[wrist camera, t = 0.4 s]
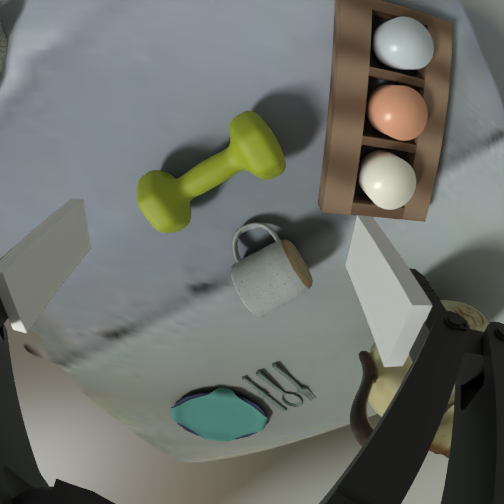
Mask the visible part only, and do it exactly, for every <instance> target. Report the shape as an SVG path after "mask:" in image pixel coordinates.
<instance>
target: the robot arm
mask: <svg viewBox="0 0 504 504" xmlns="http://www.w3.org/2000/svg"><path fill="white" fill-rule="evenodd" d="M90 249H91V245H90V239H89V234H88V228H87V221H86V215H85V208H84V200H83V199H71V200H69V201H68V202H67V203H65V204H64V205H63V206H62V207H60V208H59V209H58V210H57V211H55V212H54V213H53V214H52V215H50V216H49V217H48V218H47V219H46V220H44V221H43V222H42V223H41V224H40V225H38V226H37V227H36V228H35V229H34V230H33V231H31V232H30V233H29V234H28V235H27V236H26V237H25V238H24V239H22V240H21V241H20V242H19V243H18V244H17V245H16V246H15V247H13V248H12V249H11V250H10V251H9V252H8V253H7V254H5V256H3V257H2V258H1V259H0V504H115V503H113V502H111V501H109V500H107V499H105V498H104V497H102V496H100V495H98V494H97V493H95V492H93V491H90V490H87V489H84V488H81V487H78V486H75V485H72V484H69V483H67V482H64V481H61V480H59V479H56V481H55V484H54V487H49V486H48V484H47V482H46V481H45V480H44V479H43V477H42V475H41V473H40V472H39V469H38V467H37V464H36V461H35V458H34V455H33V452H32V449H31V446H30V442H29V439H28V436H27V432H26V429H25V425H24V421H23V417H22V413H21V409H20V405H19V401H18V396H17V392H16V387H15V382H14V376H13V371H12V365H11V358H10V352H9V344H8V336H7V330H6V328H5V325H4V323H5V321H6V320H7V319H9V321H10V323H11V325H12V328H13V330H17V331H20V332H24V333H27V332H28V331H29V329H30V328H31V326H32V325H33V324H34V322H35V321H36V319H37V318H38V316H39V315H40V314H41V312H42V311H43V310H44V308H45V307H46V305H47V304H48V303H49V301H50V300H51V299H52V297H53V296H54V295H55V293H56V292H57V291H58V289H59V288H60V287H61V285H62V284H63V283H64V281H65V280H66V279H67V278H68V276H69V275H70V274H71V273H72V271H73V270H74V269H75V268H76V266H77V265H78V264H79V263H80V261H81V260H82V259H83V258H84V256H85V255H86V254H87V253H88V252H89V250H90ZM346 268H347V271H348V273H349V275H350V278H351V280H352V283H353V285H354V288H355V290H356V293H357V295H358V298H359V300H360V303H361V306H362V308H363V311H364V313H365V316H366V319H367V321H368V324H369V327H370V329H371V332H372V335H373V337H374V340H375V343H376V346H377V349H378V351H379V354H380V357H381V360H382V363H383V366H384V367H397V366H403V365H404V363H405V361H406V359H407V357H408V355H410V357H411V359H412V362H413V363H412V365H411V367H410V368H409V370H408V372H407V374H406V375H405V377H404V379H403V381H402V382H401V385H400V387H399V389H398V390H397V392H396V394H395V396H394V397H393V399H392V401H391V403H390V404H389V406H388V408H387V409H386V411H385V413H384V414H383V416H382V418H381V419H380V421H379V422H378V424H377V425H376V427H375V429H374V430H373V432H372V433H371V435H370V436H369V438H368V439H367V441H366V442H365V444H364V445H363V447H362V448H361V450H360V451H359V453H358V454H357V455H356V457H355V458H354V459H353V461H352V462H351V464H350V465H349V466H348V468H347V469H346V470H345V472H344V473H343V475H342V476H341V477H340V478H339V480H338V481H337V482H336V483H335V485H334V486H333V487H332V489H331V490H330V491H329V492H328V494H327V495H326V496H325V497H324V499H323V500H322V501H321V502H320V503H319V504H401V503H402V501H403V499H404V497H405V496H406V494H407V492H408V490H409V489H410V487H411V485H412V483H413V481H414V479H415V477H416V475H417V473H418V472H419V469H420V468H421V466H422V463H423V461H424V459H425V457H426V455H427V453H428V451H429V449H430V446H431V444H432V442H433V440H434V437H435V435H436V433H437V430H438V428H439V425H440V423H441V420H442V418H443V415H444V413H445V410H446V408H447V405H448V402H449V399H450V397H451V394H452V391H453V388H454V385H455V399H454V415H453V428H452V438H451V446H450V454H449V462H448V468H447V474H446V480H445V486H444V491H443V496H442V501H441V504H504V324H502V323H500V322H490V323H489V324H488V326H487V328H486V329H485V331H484V332H482V331H477V330H473V329H470V326H469V324H468V322H467V321H466V320H465V319H464V318H463V317H462V316H460V315H459V314H457V313H455V312H452V311H447V310H446V309H445V307H444V306H443V304H442V303H441V301H440V299H439V298H438V296H437V295H436V293H435V292H433V291H434V290H433V289H432V288H431V286H429V283H428V282H427V280H426V279H425V277H424V276H423V275H422V274H420V273H419V272H418V271H417V270H415V269H409V268H408V267H407V265H406V264H405V262H404V261H403V259H402V258H401V256H400V255H399V253H398V252H397V251H396V249H395V248H394V246H393V245H392V243H391V242H390V241H389V239H388V238H387V236H386V235H385V234H384V232H383V231H382V230H381V228H380V227H379V225H378V224H377V223H376V221H375V220H374V219H373V217H369V216H360V215H357V218H356V223H355V227H354V232H353V236H352V241H351V245H350V249H349V254H348V258H347V262H346Z"/></svg>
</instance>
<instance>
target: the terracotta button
mask: <svg viewBox="0 0 504 504" xmlns="http://www.w3.org/2000/svg"><path fill="white" fill-rule="evenodd" d="M366 114H367V117H368V120H369V122H370V123H371V125H372V126H373V127H374V128H375V129H376V130H378V131H380V132H382V133H384V134H386V135H388V136H390V137H392V138H395V139H397V140H402V141H407V140H411V139H414V138H416V137H417V136H418V135H420V134H421V132H422V131H423V130H424V128H425V126H426V123H427V118H428V111H427V106H426V103H425V101H424V99H423V98H422V96H421V95H420V94H419V93H418V92H417V91H416V90H414V89H412V88H410V87H408V86H401V85H382V86H379V87H377V88H375V89H374V90H373V91H372V92H371V93H370V95H369V96H368V99H367V102H366Z"/></svg>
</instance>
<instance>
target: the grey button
mask: <svg viewBox="0 0 504 504" xmlns="http://www.w3.org/2000/svg"><path fill="white" fill-rule="evenodd" d="M371 46H372V50H373V52H374V54H375V56H376V57H377V59H378V60H379V61H380V62H381V63H382V64H384V65H385V66H387V67H389V68H392V69H396V70H406V69H420V68H423V67H425V66H426V65H427V64H428V63H429V62H430V61H431V59H432V57H433V53H434V45H433V40H432V37H431V35H430V33H429V32H428V30H427V29H426V28H425V27H424V26H423V25H422V24H421V23H420V22H418V21H417V20H415V19H413V18H410V17H404V16H403V17H397V18H394V19H391V20H389V21H386V22H384V23H382V24H380V25H378V26H377V27H376V28H375V29H374V31H373V33H372V36H371Z"/></svg>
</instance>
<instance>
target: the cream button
mask: <svg viewBox="0 0 504 504" xmlns="http://www.w3.org/2000/svg"><path fill="white" fill-rule="evenodd" d="M357 178H358V182H359V185H360V187H361V188H362V190H363V191H364V192H365V193H366V194H367V195H368V197H369V198H370V199H371V200H372V201H373V202H374V203H375V204H376V205H377V206H379V207H380V208H383V209H387V210H392V209H397V208H400V207H402V206H403V205H405V204H406V203H407V202H408V201H409V200H410V199H411V197H412V196H413V194H414V191H415V188H416V176H415V172H414V170H413V168H412V167H411V166H410V165H409V164H408V163H407V162H406V161H404V160H403V159H401V158H399V157H398V156H396V155H394V154H393V153H391V152H389V151H386V150H377V151H373V152H371V153H369V154H368V155H366V156H365V157H364V158H363V160H362V161H361V163H360V165H359V167H358V172H357Z"/></svg>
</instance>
